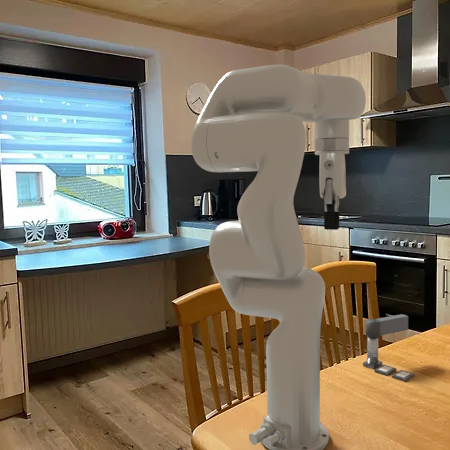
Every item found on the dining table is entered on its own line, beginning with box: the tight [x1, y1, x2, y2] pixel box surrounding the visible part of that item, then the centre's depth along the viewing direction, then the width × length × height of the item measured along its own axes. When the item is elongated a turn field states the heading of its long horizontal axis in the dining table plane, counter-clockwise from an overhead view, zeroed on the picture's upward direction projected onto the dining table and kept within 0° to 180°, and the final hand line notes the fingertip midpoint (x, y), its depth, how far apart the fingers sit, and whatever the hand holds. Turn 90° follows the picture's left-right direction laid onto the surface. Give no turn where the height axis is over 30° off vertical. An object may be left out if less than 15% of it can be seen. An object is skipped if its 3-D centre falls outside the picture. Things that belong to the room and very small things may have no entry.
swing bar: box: [365, 313, 409, 338], centre depth 117 cm, size 3×12×4 cm, turn 114°
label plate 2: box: [391, 369, 415, 382], centre depth 110 cm, size 4×3×1 cm
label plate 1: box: [374, 364, 397, 377], centre depth 113 cm, size 4×3×1 cm
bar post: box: [362, 336, 383, 370], centre depth 116 cm, size 4×3×7 cm
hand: (331, 229), depth 107 cm, fingers closed
